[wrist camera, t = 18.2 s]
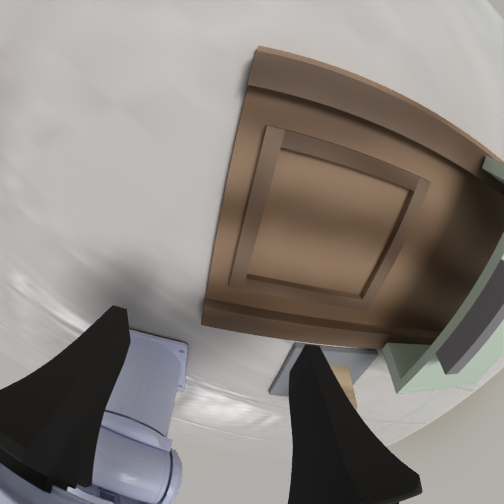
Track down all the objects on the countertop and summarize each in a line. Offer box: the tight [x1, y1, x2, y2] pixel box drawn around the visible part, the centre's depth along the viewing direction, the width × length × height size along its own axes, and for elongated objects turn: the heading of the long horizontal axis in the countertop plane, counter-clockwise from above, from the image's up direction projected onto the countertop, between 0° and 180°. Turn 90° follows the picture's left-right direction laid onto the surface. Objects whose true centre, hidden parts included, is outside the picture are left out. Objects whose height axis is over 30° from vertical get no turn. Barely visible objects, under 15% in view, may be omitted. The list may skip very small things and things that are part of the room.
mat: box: [269, 343, 378, 396], centre depth 27 cm, size 9×9×1 cm
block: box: [330, 366, 357, 410], centre depth 24 cm, size 4×4×5 cm
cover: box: [382, 156, 504, 394], centre depth 15 cm, size 18×12×7 cm, turn 167°
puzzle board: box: [201, 46, 504, 349], centre depth 18 cm, size 20×30×2 cm, turn 77°
